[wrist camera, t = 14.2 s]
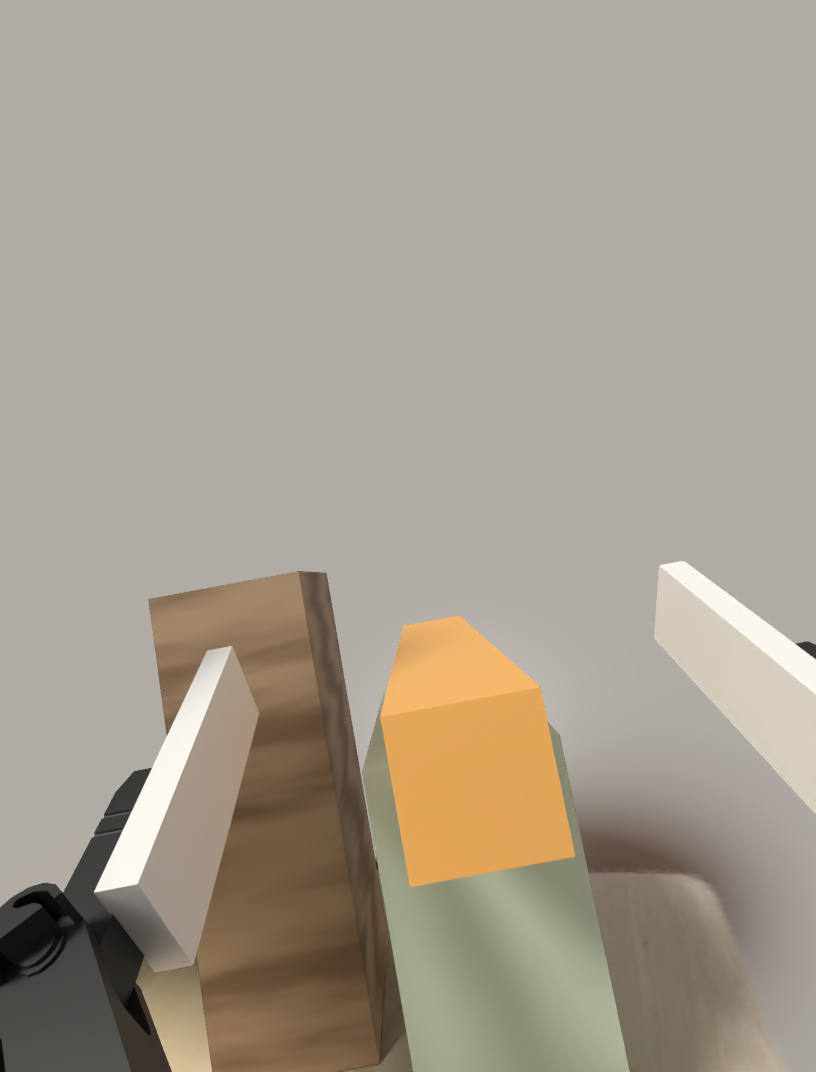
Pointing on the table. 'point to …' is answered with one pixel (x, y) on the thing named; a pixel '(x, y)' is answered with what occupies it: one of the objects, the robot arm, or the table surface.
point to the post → (285, 837)
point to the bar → (469, 758)
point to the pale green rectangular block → (496, 954)
